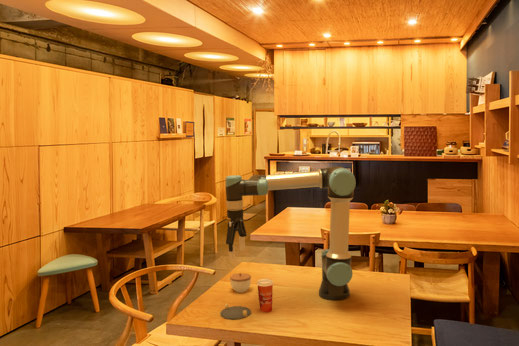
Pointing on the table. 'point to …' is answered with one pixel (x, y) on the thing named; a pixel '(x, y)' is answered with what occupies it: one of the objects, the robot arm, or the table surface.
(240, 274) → the lidded jar
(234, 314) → the pad
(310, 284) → the table surface
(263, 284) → the paper cup
